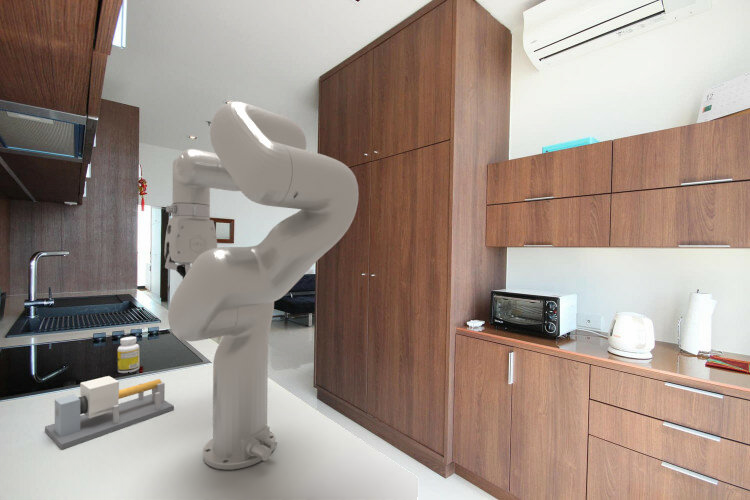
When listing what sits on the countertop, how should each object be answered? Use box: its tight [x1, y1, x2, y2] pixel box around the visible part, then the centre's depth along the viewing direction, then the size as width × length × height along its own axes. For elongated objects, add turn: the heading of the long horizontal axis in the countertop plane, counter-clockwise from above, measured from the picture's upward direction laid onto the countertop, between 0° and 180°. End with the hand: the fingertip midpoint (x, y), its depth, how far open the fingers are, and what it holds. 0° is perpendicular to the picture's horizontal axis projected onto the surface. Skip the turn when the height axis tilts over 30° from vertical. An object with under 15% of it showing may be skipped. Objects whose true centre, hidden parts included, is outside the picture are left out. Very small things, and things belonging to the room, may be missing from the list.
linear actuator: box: [44, 378, 175, 451], centre depth 77 cm, size 20×11×7 cm, turn 145°
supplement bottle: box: [117, 336, 140, 374], centre depth 107 cm, size 5×5×10 cm
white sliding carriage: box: [79, 375, 120, 418], centre depth 75 cm, size 5×6×6 cm
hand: (190, 294), depth 80 cm, fingers closed
